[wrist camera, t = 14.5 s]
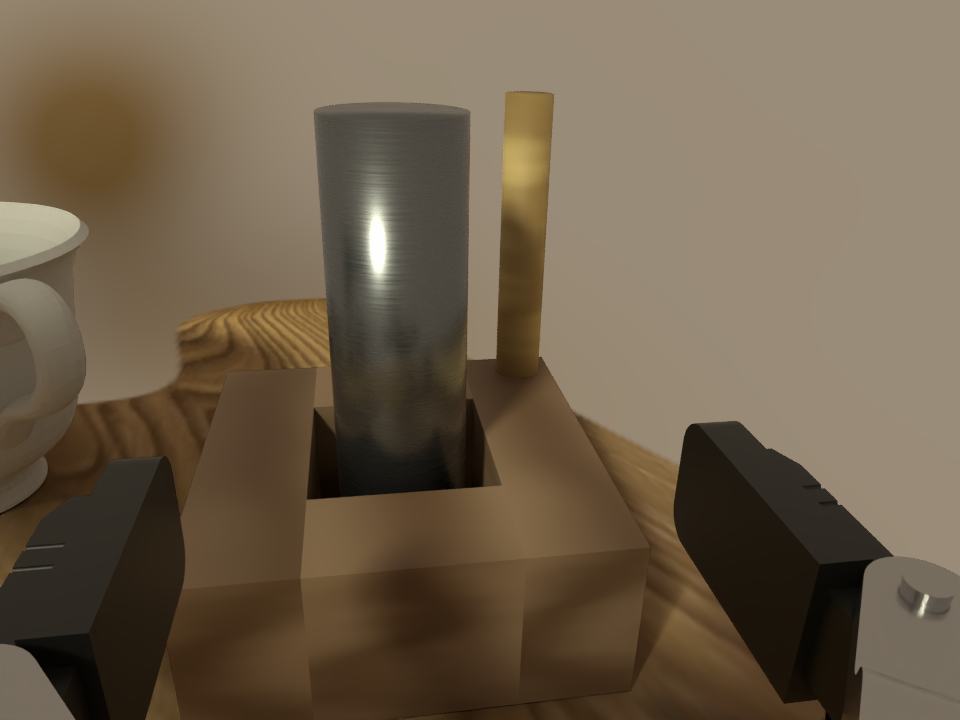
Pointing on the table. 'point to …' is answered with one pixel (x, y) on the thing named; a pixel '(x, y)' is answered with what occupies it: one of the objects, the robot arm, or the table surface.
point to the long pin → (396, 291)
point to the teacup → (36, 341)
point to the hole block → (412, 534)
